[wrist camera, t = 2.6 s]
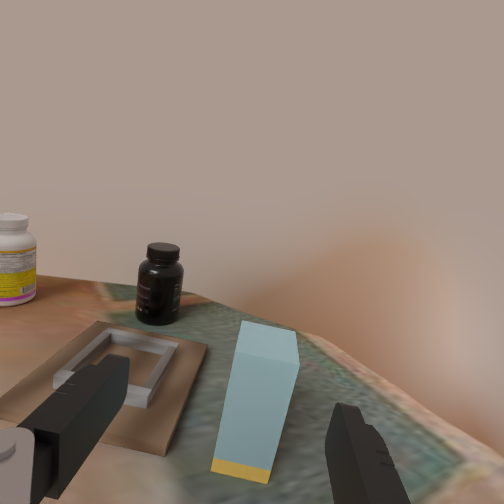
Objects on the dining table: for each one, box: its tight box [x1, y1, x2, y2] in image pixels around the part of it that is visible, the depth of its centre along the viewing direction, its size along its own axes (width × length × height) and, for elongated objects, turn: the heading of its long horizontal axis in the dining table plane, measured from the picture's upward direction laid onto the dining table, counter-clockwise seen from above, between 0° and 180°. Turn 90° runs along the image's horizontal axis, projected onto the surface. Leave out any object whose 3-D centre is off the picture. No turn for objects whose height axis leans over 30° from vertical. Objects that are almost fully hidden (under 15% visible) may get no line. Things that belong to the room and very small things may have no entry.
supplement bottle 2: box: [135, 242, 184, 325], centre depth 46 cm, size 7×7×12 cm
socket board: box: [0, 321, 208, 457], centre depth 33 cm, size 16×16×3 cm
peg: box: [211, 320, 300, 484], centre depth 26 cm, size 5×5×12 cm
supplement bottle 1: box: [0, 213, 36, 306], centre depth 43 cm, size 7×7×13 cm
